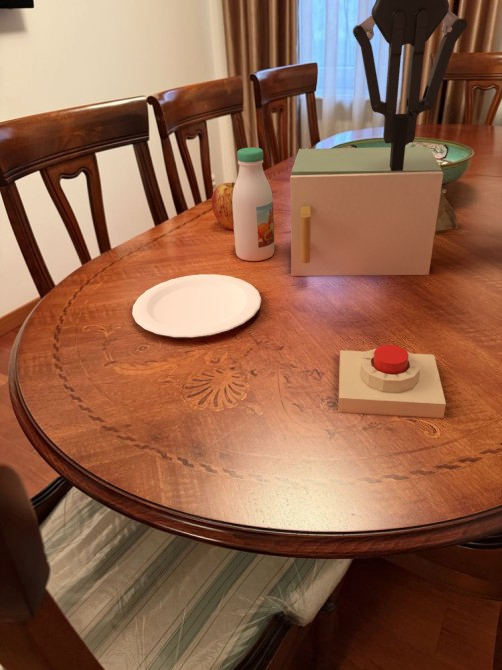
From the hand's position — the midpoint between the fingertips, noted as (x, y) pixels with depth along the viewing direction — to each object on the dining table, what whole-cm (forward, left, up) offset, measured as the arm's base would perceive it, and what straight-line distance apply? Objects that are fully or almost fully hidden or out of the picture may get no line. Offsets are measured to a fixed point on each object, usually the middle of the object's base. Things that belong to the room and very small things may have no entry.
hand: (396, 167), depth 69 cm
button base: (0, +19, -22) cm, 29 cm away
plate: (+29, +1, -23) cm, 37 cm away
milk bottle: (+23, -22, -23) cm, 39 cm away
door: (+3, -11, -22) cm, 25 cm away
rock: (-12, -34, -23) cm, 43 cm away
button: (0, +19, -19) cm, 27 cm away
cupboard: (+3, -23, -22) cm, 32 cm away
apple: (+30, -37, -23) cm, 53 cm away
